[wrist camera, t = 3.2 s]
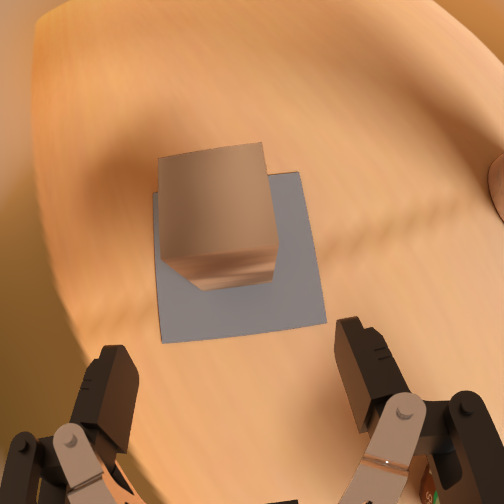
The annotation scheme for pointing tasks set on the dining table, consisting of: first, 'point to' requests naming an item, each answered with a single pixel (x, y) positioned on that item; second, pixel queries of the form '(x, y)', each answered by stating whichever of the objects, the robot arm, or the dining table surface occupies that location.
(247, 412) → the dining table surface
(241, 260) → the walnut block
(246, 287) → the tile
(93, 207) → the dining table surface
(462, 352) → the dining table surface
